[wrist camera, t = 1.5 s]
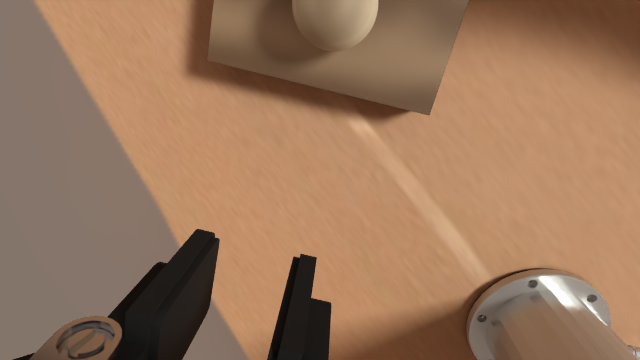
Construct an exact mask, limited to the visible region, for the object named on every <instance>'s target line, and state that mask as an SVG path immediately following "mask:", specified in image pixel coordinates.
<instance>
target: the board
mask: <svg viewBox="0 0 640 360" xmlns="http://www.w3.org/2000/svg"><path fill="white" fill-rule="evenodd" d="M468 1H469V0H378V12H377V17H376V20H375V22H374V25H373V27H372V29H371V30H370V32H369V33H368V35H367V36H366V37H365V38H364V39H363V40H362V41H361V42H360V43H358V44H357V45H355V46H354V47H352V48H349V49H347V50H343V51H336V52H335V51H326V50H322V49H319V48H317V47H315V46H314V45H312V44H311V43H310V42H308V41H307V40H306V39H305V38H304V37H303V35H302V34H301V32H300V31H299V29H298V27H297V25H296V23H295V20H294V16H293V11H292V0H214V3H213V12H212V21H211V29H210V38H209V47H208V55H207V60H208V61H212V62H216V63H220V64H224V65H228V66H232V67H236V68H240V69H244V70H248V71H252V72H256V73H260V74H264V75H268V76H272V77H276V78H280V79H284V80H288V81H292V82H296V83H300V84H304V85H308V86H312V87H316V88H320V89H324V90H328V91H333V92H337V93H341V94H345V95H349V96H353V97H357V98H361V99H365V100H369V101H373V102H377V103H381V104H385V105H389V106H393V107H397V108H401V109H405V110H409V111H413V112H417V113H421V114H425V115H430V112H431V109H432V106H433V103H434V100H435V98H436V95H437V92H438V89H439V86H440V83H441V80H442V77H443V74H444V71H445V68H446V65H447V63H448V60H449V57H450V54H451V51H452V48H453V45H454V42H455V39H456V36H457V33H458V30H459V27H460V25H461V22H462V19H463V16H464V13H465V10H466V7H467V4H468Z"/></svg>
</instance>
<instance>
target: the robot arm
mask: <svg viewBox="0 0 640 360" xmlns="http://www.w3.org/2000/svg"><path fill="white" fill-rule="evenodd" d="M218 248H219V238H215V234H214V233H213V232H209V231H204V230H200V229H197V230H195V232H194V233H193V234H192V235H191V236H190V237H189V239H188V240H187V241H186V242H185V243H184V244H183V246H182V247H181V248H180V249H179V251H178V252H177V253H176V254H175V255H174V256H173V257H172V259H171V260H170V261H169V262H168V263H163V262H159V263H157V264H156V265H154V266H153V267H152V269H151V270H150V271H149V272H148V273H147V274H146V275H145V276H144V277H143V278H142V280H141V281H140V282H139V283H138V284H137V285H136V286H135V287H134V288H133V289H132V291H131V292H130V293H129V294H128V295H127V296H126V297H125V298H124V299H123V300H122V302H121V303H120V304H119V305H118V306H117V307H116V308H115V309H114V310H113V311H112V313H111V314H110V315H109V316H108V317H104V316H90V317H84V318H80V319H77V320H74V321H72V322H70V323H68V324H66V325H64V326H62V327H61V328H60V329H59V330H58V331H56V332H55V333H54V334H53V335H52V336H51V337H50V338H49V339H48V340H47V341H46V343H44V345H43V346H42V347H41V348H40V349H39V350H38V351H37V352H36V353H33V354H30V355H27V356H23V357H20V358H17V359H14V360H182V359H183V357H184V355H185V353H186V351H187V350H188V348H189V346H190V344H191V342H192V340H193V338H194V336H195V335H196V333H197V331H198V329H199V327H200V325H201V323H202V322H203V320H204V318H205V316H206V314H207V311H208V309H209V305H210V301H211V294H212V287H213V281H214V274H215V268H216V261H217V255H218ZM316 259H317V258H316V257H312V256H308V255H304V254H301V255H300V258H298V257H293V261H292V265H291V269H290V272H289V276H288V280H287V284H286V288H285V292H284V296H283V300H282V304H281V307H280V311H279V315H278V319H277V323H276V327H275V331H274V335H273V339H272V343H271V347H270V351H269V355H268V359H267V360H328V356H329V338H330V320H331V303H330V302H326V301H322V300H317V299H313V298H311V294H312V287H313V280H314V273H315V266H316ZM610 326H611V314H610V311H609V308H608V305H607V303H606V301H605V300H604V298H603V296H602V295H601V294H600V293H599V292H598V291H597V290H596V289H595V288H594V287H593V286H592V285H591V284H589V283H588V282H587V281H585V280H584V279H582V278H581V277H578V276H576V275H574V274H572V273H568V272H564V271H560V270H552V269H537V270H529V271H524V272H520V273H516V274H514V275H511V276H509V277H506V278H504V279H502V280H500V281H499V282H497V283H495V284H494V285H492V286H491V287H490V288H488V289H487V290H486V291H485V292H484V293H482V295H481V296H480V297H479V298H478V299H477V301H476V302H475V303H474V305H473V307H472V309H471V310H470V312H469V316H468V319H467V324H466V334H467V339H468V343H469V345H470V347H471V350H472V352H473V354H474V355H475V357H476V358H477V360H640V348H638V347H634V346H630V345H626V344H625V343H624V342H623V341H622V340H621V339H620V338H619V336H618V335H617V334H616V333H615V332H614V331H613V330H612V329H611V328H610Z"/></svg>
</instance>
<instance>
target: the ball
mask: <svg viewBox="0 0 640 360" xmlns="http://www.w3.org/2000/svg"><path fill="white" fill-rule="evenodd" d="M292 11H293V16H294V20H295V23H296V25H297V27H298V29H299V31H300V32H301V34H302V35H303V37H304V38H305V39H306V40H307V41H308V42H310V43H311V44H312V45H314V46H315V47H317V48H319V49H322V50H326V51H335V52H336V51H343V50H347V49H349V48H352V47H354V46H355V45H357V44H358V43H360V42H361V41H362V40H363V39H364V38H365V37H366V36H367V35H368V33H369V32H370V30H371V29H372V27H373V25H374V22H375V20H376V17H377V12H378V0H292Z"/></svg>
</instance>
